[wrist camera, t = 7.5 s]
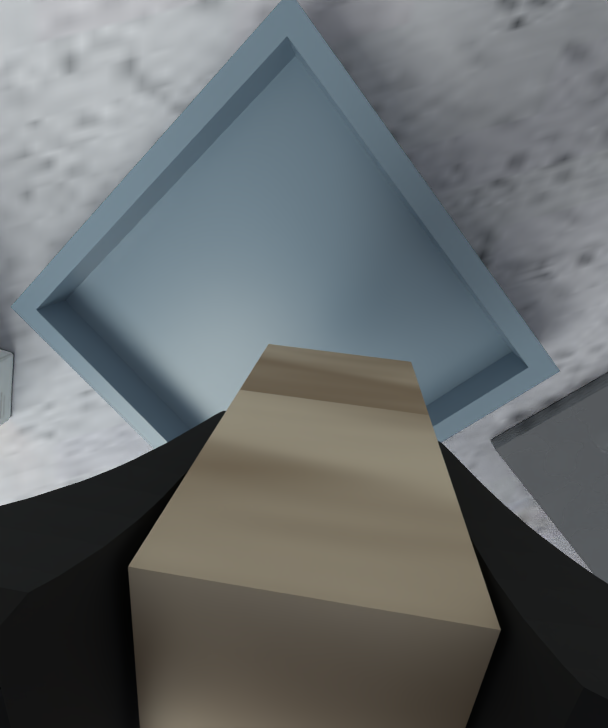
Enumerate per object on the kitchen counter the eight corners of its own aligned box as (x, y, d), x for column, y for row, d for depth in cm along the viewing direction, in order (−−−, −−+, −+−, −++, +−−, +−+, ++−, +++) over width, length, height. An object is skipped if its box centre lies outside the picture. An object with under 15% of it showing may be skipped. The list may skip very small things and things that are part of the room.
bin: (268, 517, 23) (257, 552, 21) (50, 294, 20) (10, 306, 18) (534, 349, 18) (559, 371, 16) (300, 22, 15) (289, -9, 13)
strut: (387, 482, 13) (425, 837, 6) (260, 463, 14) (143, 778, 6) (411, 361, 12) (500, 629, 4) (268, 343, 12) (127, 566, 5)
